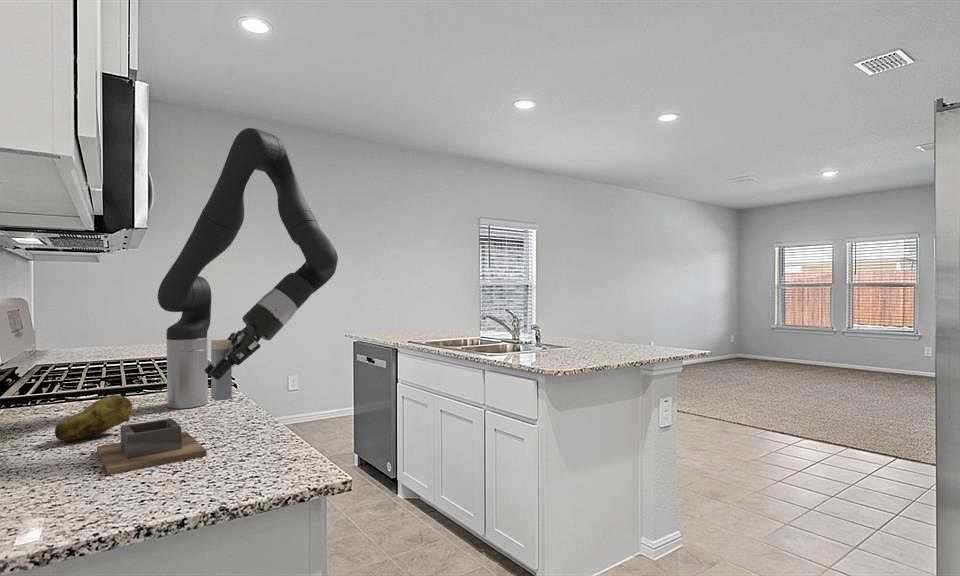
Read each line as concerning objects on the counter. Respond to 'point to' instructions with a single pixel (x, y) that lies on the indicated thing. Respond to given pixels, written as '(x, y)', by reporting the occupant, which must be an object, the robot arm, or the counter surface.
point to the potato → (95, 419)
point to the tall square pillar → (224, 385)
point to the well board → (149, 446)
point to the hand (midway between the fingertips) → (211, 375)
